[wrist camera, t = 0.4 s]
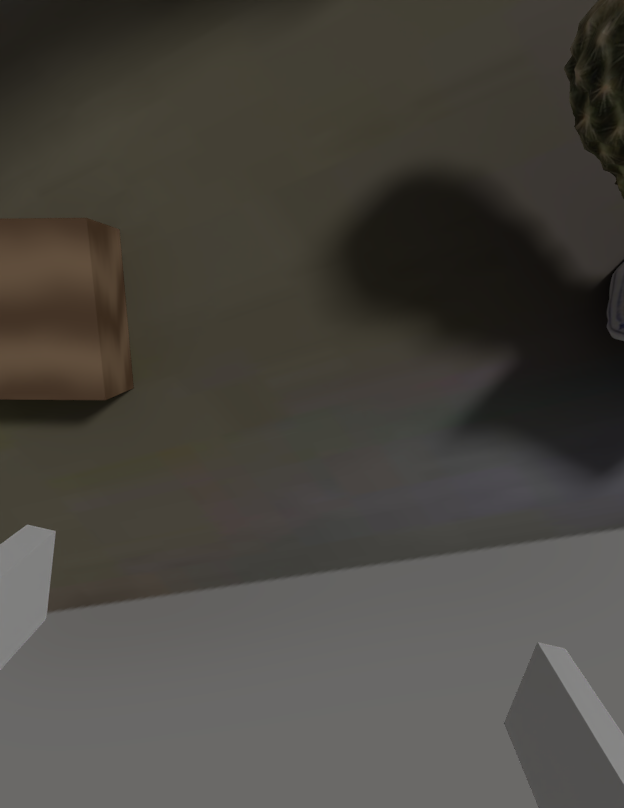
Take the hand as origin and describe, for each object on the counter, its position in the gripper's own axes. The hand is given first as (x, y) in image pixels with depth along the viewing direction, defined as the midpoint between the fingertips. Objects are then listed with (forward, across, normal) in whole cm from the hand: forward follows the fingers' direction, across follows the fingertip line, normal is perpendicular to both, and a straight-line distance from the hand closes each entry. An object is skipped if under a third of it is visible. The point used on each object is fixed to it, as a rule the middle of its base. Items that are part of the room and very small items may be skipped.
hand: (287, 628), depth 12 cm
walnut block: (+27, -24, +2) cm, 36 cm away
